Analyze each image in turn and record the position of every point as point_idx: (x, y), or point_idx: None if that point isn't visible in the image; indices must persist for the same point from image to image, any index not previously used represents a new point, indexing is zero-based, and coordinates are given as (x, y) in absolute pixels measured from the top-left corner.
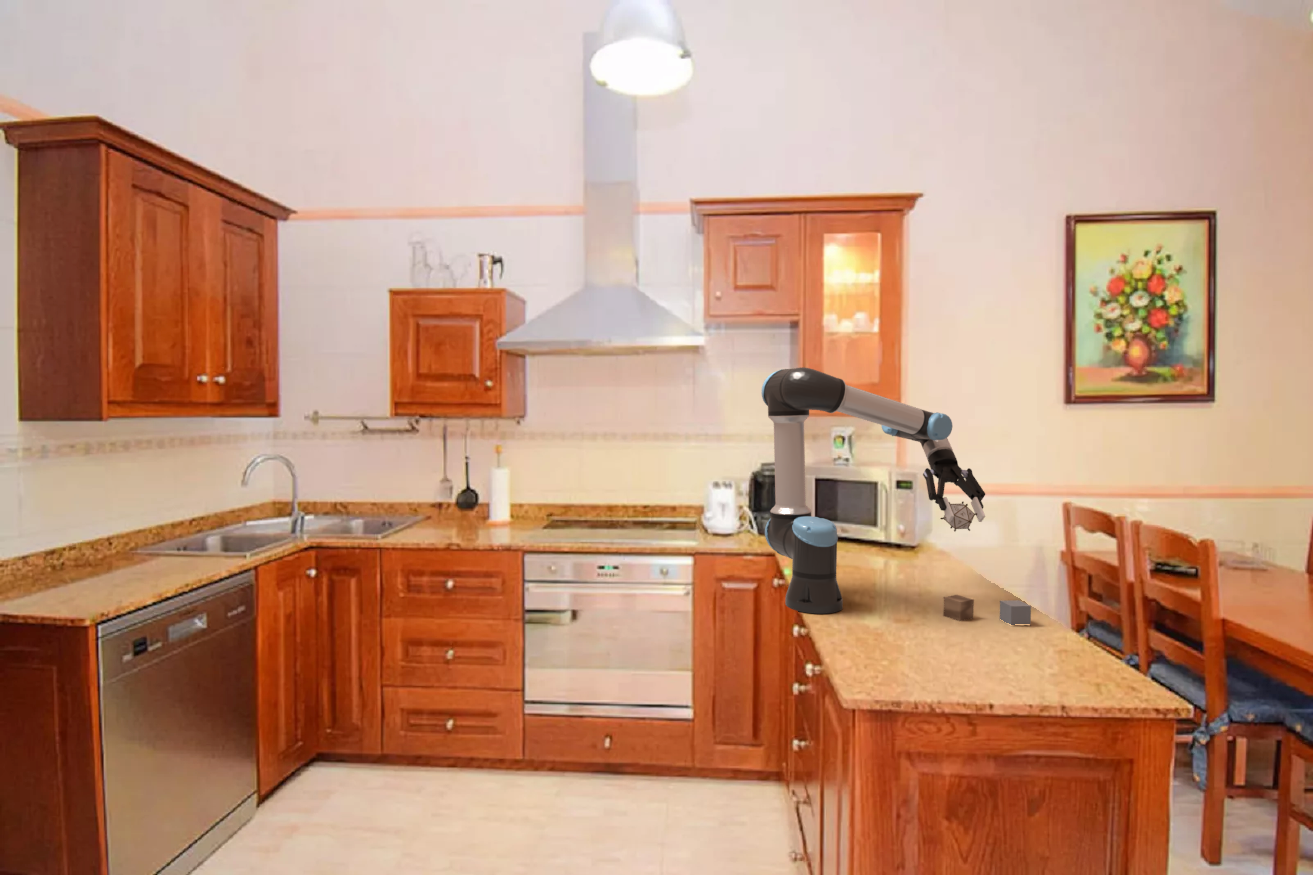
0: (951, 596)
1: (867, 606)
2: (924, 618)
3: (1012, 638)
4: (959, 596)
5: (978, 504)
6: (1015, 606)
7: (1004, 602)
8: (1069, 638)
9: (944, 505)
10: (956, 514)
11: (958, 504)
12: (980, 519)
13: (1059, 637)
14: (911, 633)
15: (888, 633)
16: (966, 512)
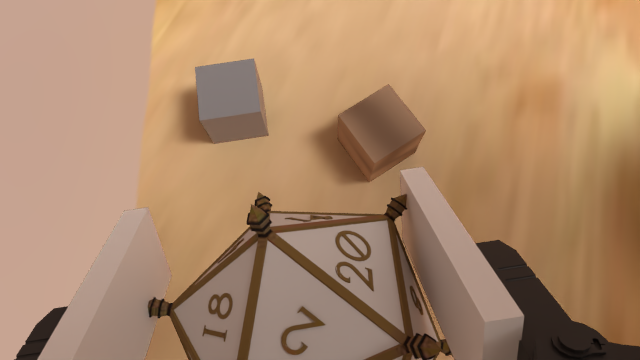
0: (398, 140)
1: (630, 223)
2: (473, 124)
3: (300, 3)
4: (372, 143)
5: (95, 294)
6: (242, 60)
7: (256, 93)
8: (168, 16)
9: (490, 257)
10: (367, 215)
11: (315, 318)
12: (162, 248)
13: (187, 20)
14: (527, 10)
15: (582, 4)
16: (274, 221)
